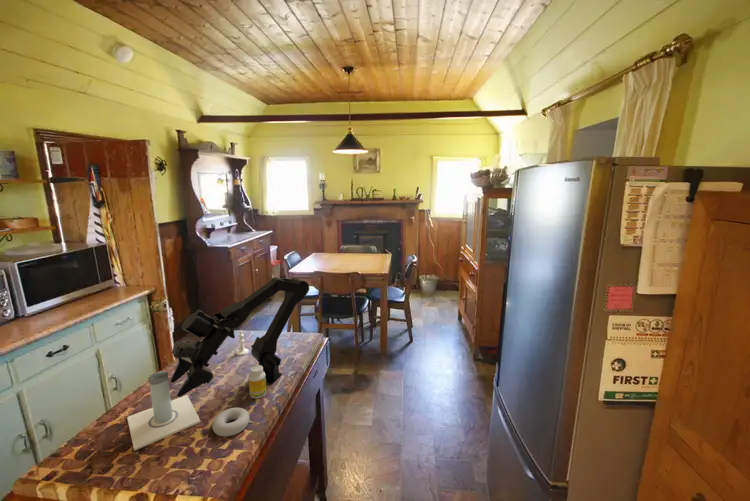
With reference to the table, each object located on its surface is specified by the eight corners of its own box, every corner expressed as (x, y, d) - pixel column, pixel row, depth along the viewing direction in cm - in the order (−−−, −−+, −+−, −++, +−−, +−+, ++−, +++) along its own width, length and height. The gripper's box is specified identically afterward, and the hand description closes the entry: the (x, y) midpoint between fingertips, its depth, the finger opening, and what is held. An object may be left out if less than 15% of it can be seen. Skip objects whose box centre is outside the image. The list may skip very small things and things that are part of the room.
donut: (253, 414, 100) (220, 415, 99) (253, 404, 99) (219, 405, 98) (244, 438, 90) (206, 440, 89) (243, 427, 90) (206, 429, 89)
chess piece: (244, 356, 133) (242, 333, 131) (233, 355, 134) (231, 332, 132) (251, 350, 138) (249, 328, 136) (240, 349, 139) (239, 327, 137)
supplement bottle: (249, 390, 111) (248, 365, 109) (266, 387, 113) (264, 362, 111) (249, 400, 106) (247, 373, 104) (266, 397, 108) (265, 370, 106)
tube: (175, 411, 99) (170, 370, 96) (169, 422, 95) (164, 379, 92) (157, 414, 98) (152, 372, 95) (151, 425, 93) (145, 381, 91)
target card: (187, 396, 107) (187, 394, 107) (200, 422, 96) (200, 420, 96) (127, 418, 97) (127, 416, 97) (134, 450, 85) (133, 448, 85)
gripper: (181, 322, 104) (144, 366, 99) (196, 343, 91) (155, 394, 85) (210, 337, 111) (177, 379, 106) (228, 358, 97) (191, 407, 92)
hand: (174, 389), depth 97 cm, fingers open, 9 cm apart
